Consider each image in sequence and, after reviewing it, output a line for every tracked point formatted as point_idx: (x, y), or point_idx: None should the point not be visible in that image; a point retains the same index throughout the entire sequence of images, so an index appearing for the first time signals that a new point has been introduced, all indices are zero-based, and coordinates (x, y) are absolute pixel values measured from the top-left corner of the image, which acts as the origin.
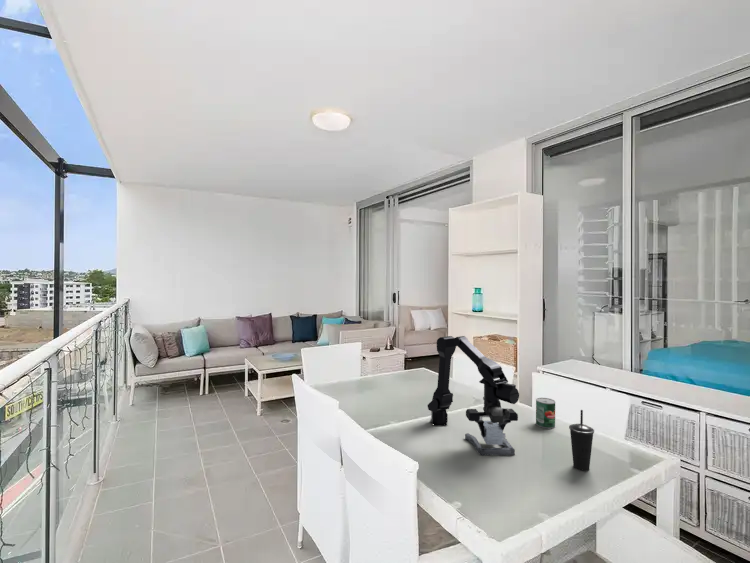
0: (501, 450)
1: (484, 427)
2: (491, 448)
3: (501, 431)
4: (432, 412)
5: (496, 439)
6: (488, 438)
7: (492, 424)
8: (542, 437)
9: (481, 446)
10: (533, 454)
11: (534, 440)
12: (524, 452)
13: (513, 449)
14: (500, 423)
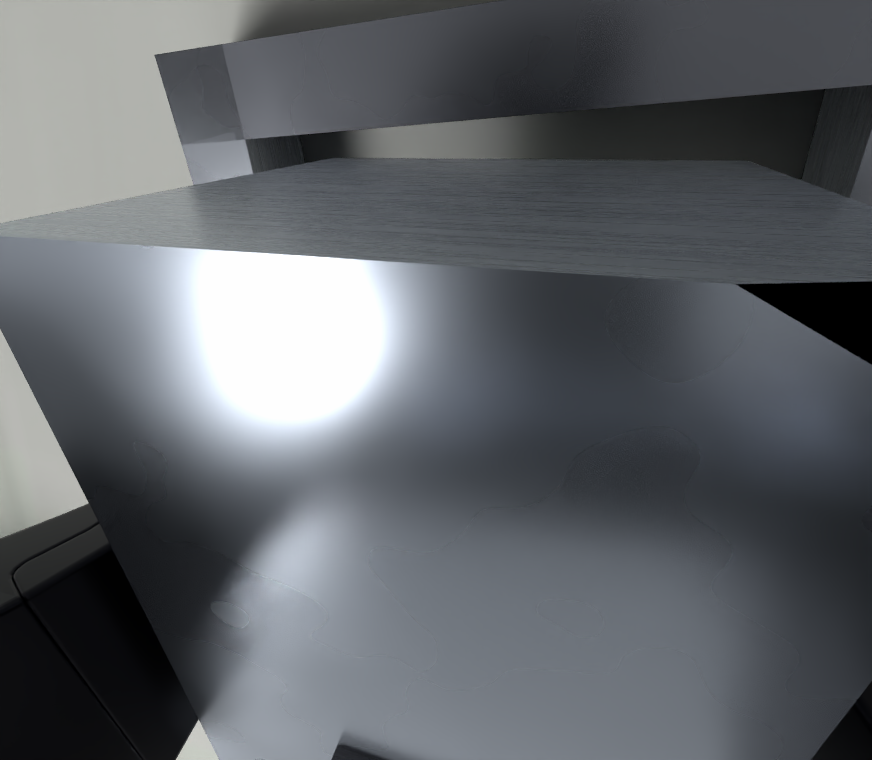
0: (409, 20)
1: (799, 692)
2: (627, 75)
3: (69, 214)
4: None
5: (432, 175)
6: (721, 181)
7: (359, 738)
8: (12, 480)
9: (850, 193)
10: (5, 110)
11: (55, 444)
12: (107, 171)
13: (174, 62)
14: (84, 695)
